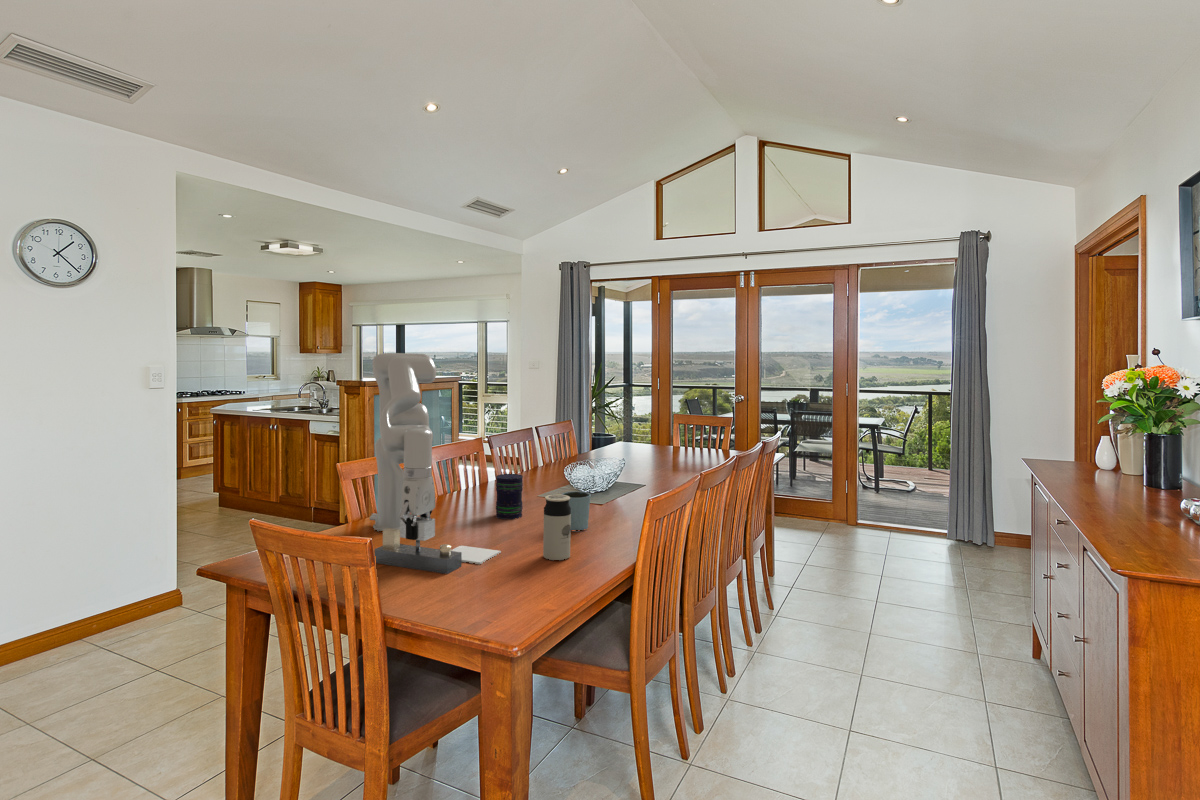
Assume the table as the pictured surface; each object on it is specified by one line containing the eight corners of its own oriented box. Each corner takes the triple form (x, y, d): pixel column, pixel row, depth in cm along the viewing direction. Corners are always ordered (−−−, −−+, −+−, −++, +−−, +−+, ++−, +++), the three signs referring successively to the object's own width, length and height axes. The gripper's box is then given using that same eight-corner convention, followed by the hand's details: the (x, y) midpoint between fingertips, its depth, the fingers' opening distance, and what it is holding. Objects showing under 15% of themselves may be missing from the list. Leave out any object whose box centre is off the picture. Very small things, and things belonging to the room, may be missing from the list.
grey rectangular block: (400, 537, 180) (400, 519, 179) (411, 532, 185) (411, 515, 184) (424, 540, 177) (424, 523, 177) (434, 536, 182) (434, 518, 181)
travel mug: (537, 556, 191) (538, 496, 190) (559, 551, 196) (560, 493, 195) (553, 563, 185) (554, 501, 184) (575, 557, 190) (576, 497, 189)
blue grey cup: (591, 525, 227) (592, 491, 227) (588, 533, 217) (588, 497, 217) (563, 524, 228) (563, 490, 228) (558, 531, 218) (559, 496, 218)
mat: (438, 558, 187) (438, 556, 187) (460, 547, 198) (460, 545, 198) (480, 564, 182) (480, 562, 182) (500, 552, 193) (500, 550, 193)
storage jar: (492, 514, 241) (492, 474, 240) (517, 511, 245) (518, 473, 244) (499, 520, 232) (500, 479, 231) (525, 518, 236) (526, 477, 235)
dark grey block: (374, 562, 182) (374, 531, 181) (390, 555, 188) (390, 525, 188) (447, 574, 174) (447, 541, 173) (461, 566, 180) (461, 534, 180)
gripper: (410, 479, 170) (410, 546, 172) (446, 468, 186) (446, 530, 188) (386, 477, 173) (386, 543, 174) (424, 466, 189) (424, 527, 190)
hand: (417, 535), depth 181 cm, fingers closed on grey rectangular block, 5 cm apart
